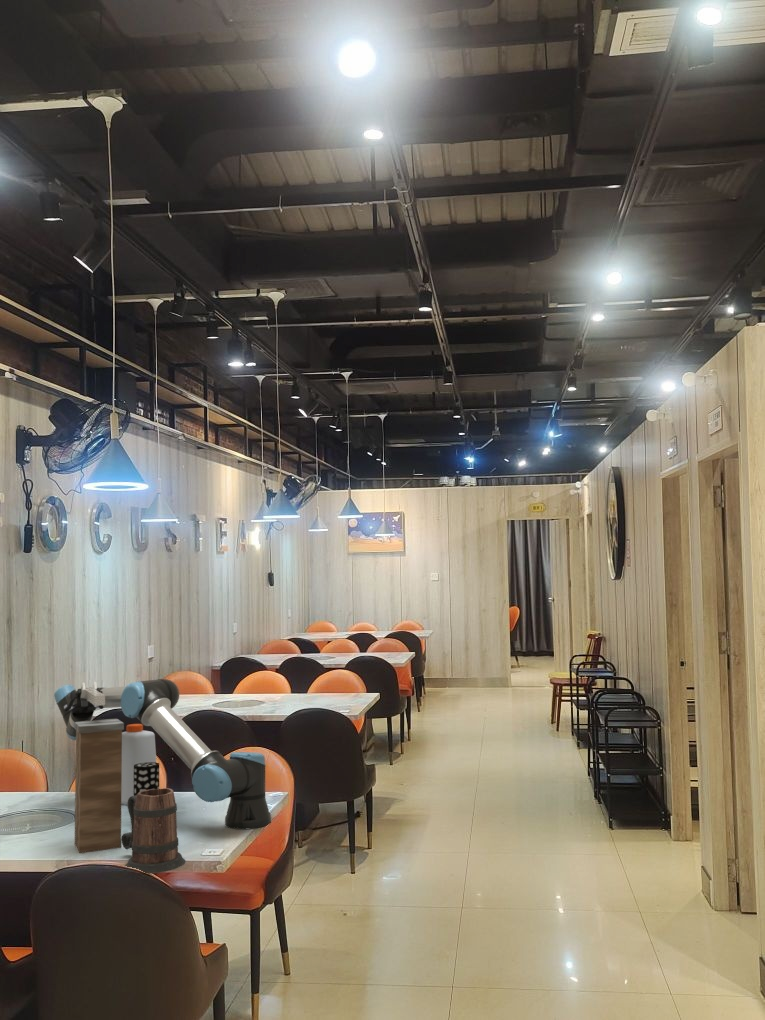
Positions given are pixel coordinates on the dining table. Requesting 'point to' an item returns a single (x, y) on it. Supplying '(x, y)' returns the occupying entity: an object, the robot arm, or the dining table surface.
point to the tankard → (153, 832)
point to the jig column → (98, 784)
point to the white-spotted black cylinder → (146, 776)
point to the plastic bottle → (135, 756)
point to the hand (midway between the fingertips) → (89, 685)
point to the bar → (94, 696)
